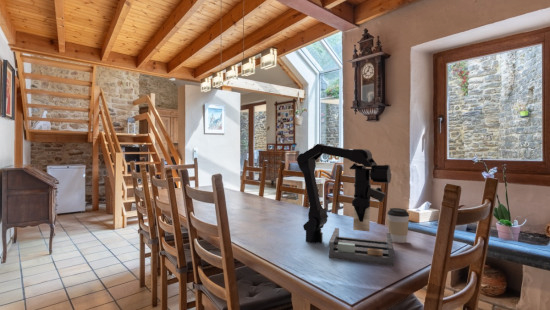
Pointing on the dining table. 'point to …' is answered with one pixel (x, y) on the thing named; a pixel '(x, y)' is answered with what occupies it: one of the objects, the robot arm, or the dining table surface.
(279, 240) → the dining table surface
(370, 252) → the offcut
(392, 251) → the rack
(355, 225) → the birch panel
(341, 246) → the offcut
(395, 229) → the coffee cup
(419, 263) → the dining table surface
